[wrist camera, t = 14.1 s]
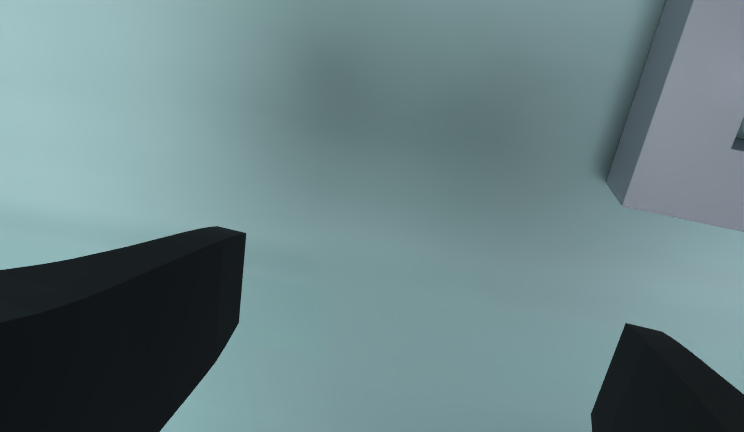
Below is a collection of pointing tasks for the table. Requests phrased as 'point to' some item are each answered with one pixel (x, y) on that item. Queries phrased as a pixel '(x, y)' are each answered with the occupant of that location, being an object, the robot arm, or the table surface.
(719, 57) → the grey square frame
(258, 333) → the table surface
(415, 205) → the table surface
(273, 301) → the table surface
